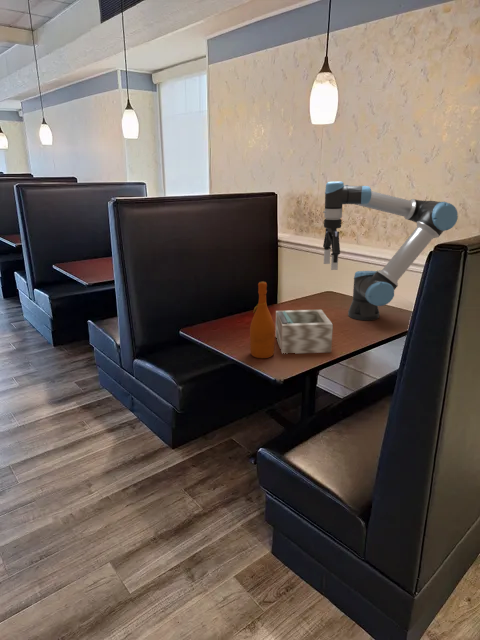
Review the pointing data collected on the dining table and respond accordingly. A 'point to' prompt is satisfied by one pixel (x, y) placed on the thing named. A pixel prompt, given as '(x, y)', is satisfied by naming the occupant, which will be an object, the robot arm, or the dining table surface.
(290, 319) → the trapdoor
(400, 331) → the dining table surface
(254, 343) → the wine bottle
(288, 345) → the crate
